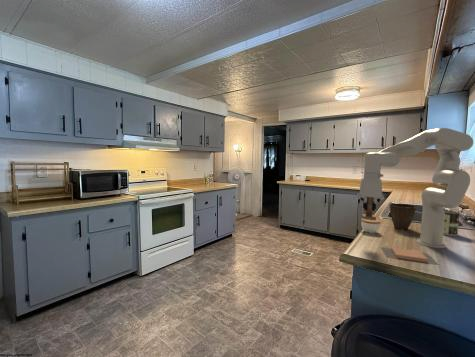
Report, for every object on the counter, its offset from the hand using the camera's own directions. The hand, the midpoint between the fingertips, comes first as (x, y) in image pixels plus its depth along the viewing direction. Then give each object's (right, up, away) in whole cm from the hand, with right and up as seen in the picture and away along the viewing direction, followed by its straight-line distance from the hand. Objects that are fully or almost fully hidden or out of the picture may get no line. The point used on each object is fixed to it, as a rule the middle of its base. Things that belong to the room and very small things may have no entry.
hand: (369, 209), depth 126 cm
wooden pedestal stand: (0, -5, 0) cm, 5 cm away
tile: (+13, -19, -9) cm, 25 cm away
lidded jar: (+15, -18, +26) cm, 35 cm away
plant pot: (+41, -18, +35) cm, 56 cm away
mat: (+11, -21, -13) cm, 27 cm away
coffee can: (+64, -19, +25) cm, 71 cm away
